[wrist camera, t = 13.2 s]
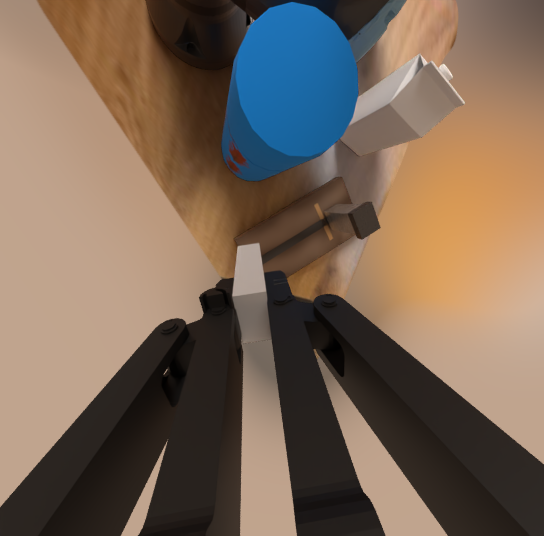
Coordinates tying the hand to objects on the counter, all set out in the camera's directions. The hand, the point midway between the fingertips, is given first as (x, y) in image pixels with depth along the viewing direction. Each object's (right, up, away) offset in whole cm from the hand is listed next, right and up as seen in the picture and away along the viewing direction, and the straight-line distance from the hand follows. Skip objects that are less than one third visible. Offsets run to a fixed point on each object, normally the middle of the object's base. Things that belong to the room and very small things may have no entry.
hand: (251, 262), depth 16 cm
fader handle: (+14, +10, +30) cm, 34 cm away
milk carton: (+18, +27, +29) cm, 44 cm away
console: (+7, +7, +32) cm, 33 cm away
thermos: (-2, +21, +26) cm, 33 cm away
